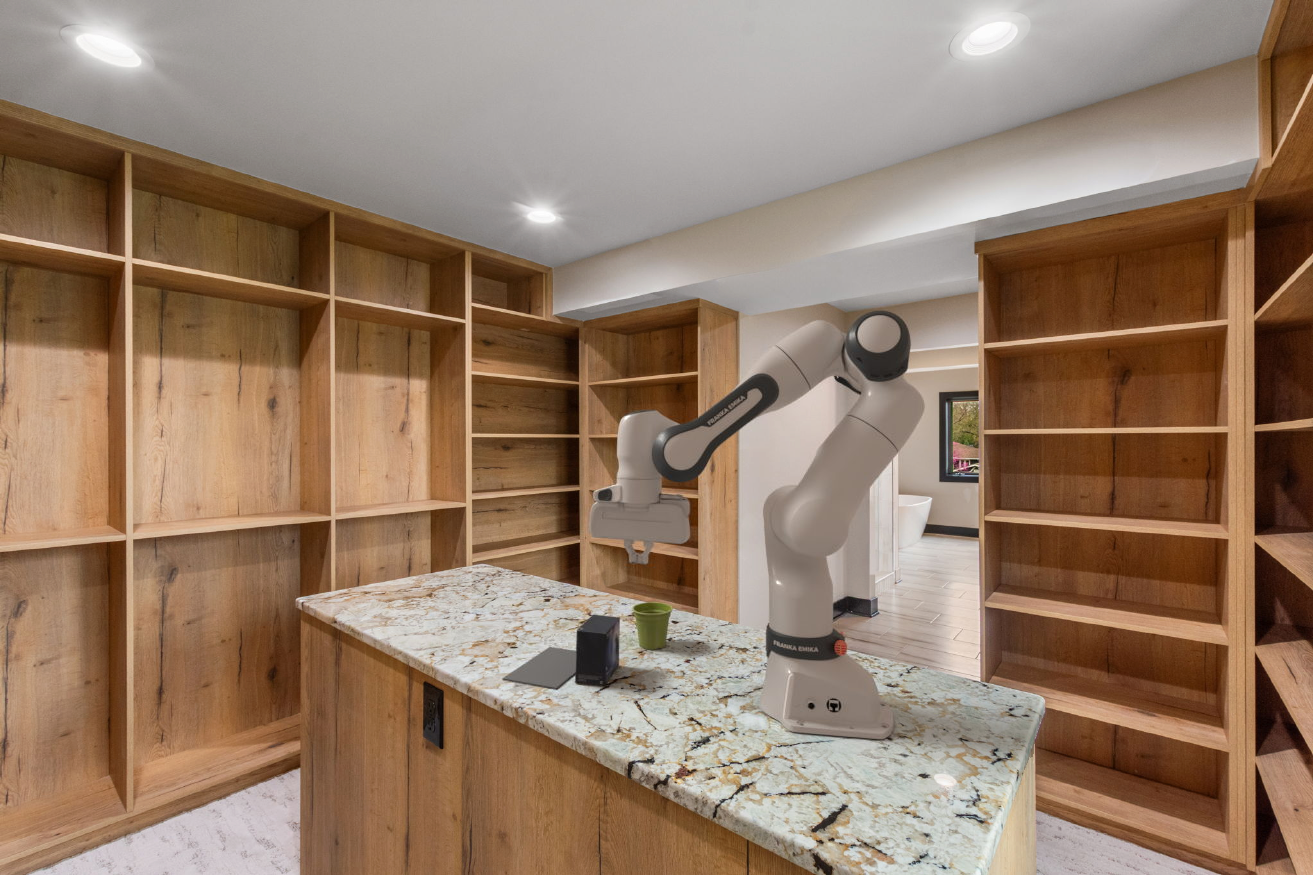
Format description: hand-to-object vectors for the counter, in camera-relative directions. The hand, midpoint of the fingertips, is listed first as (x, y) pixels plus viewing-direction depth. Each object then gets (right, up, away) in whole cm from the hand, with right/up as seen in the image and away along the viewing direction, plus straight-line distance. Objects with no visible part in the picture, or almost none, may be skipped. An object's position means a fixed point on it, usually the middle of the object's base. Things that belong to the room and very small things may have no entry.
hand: (638, 563), depth 112 cm
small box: (-8, -23, +3) cm, 25 cm away
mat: (-18, -23, +6) cm, 30 cm away
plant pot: (+3, -23, +19) cm, 30 cm away
